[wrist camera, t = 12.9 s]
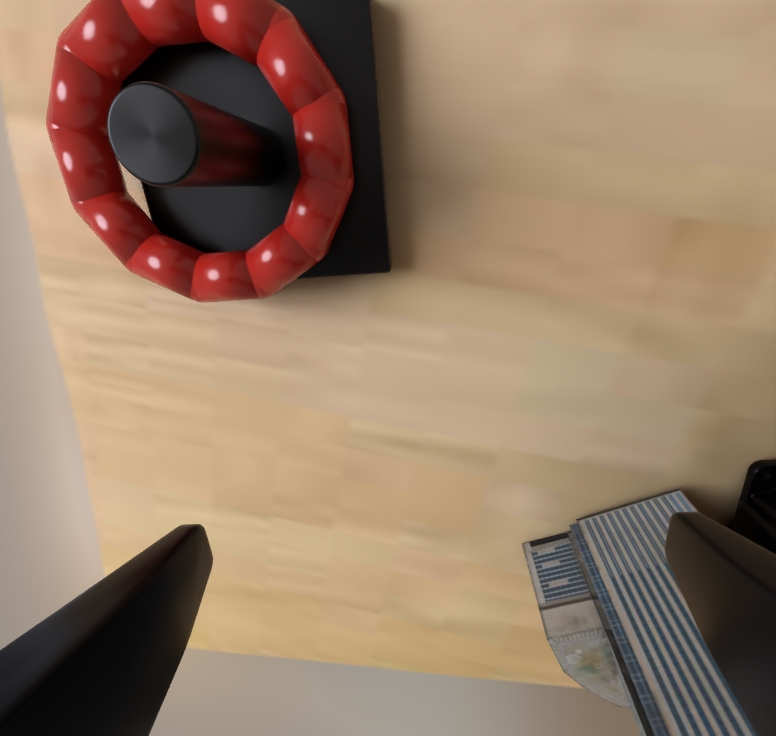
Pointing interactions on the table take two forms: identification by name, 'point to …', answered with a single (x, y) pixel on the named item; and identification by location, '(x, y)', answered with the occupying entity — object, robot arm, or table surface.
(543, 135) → the table surface
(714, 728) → the building
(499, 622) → the table surface
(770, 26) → the table surface
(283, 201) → the peg
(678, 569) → the robot arm
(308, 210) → the ring
